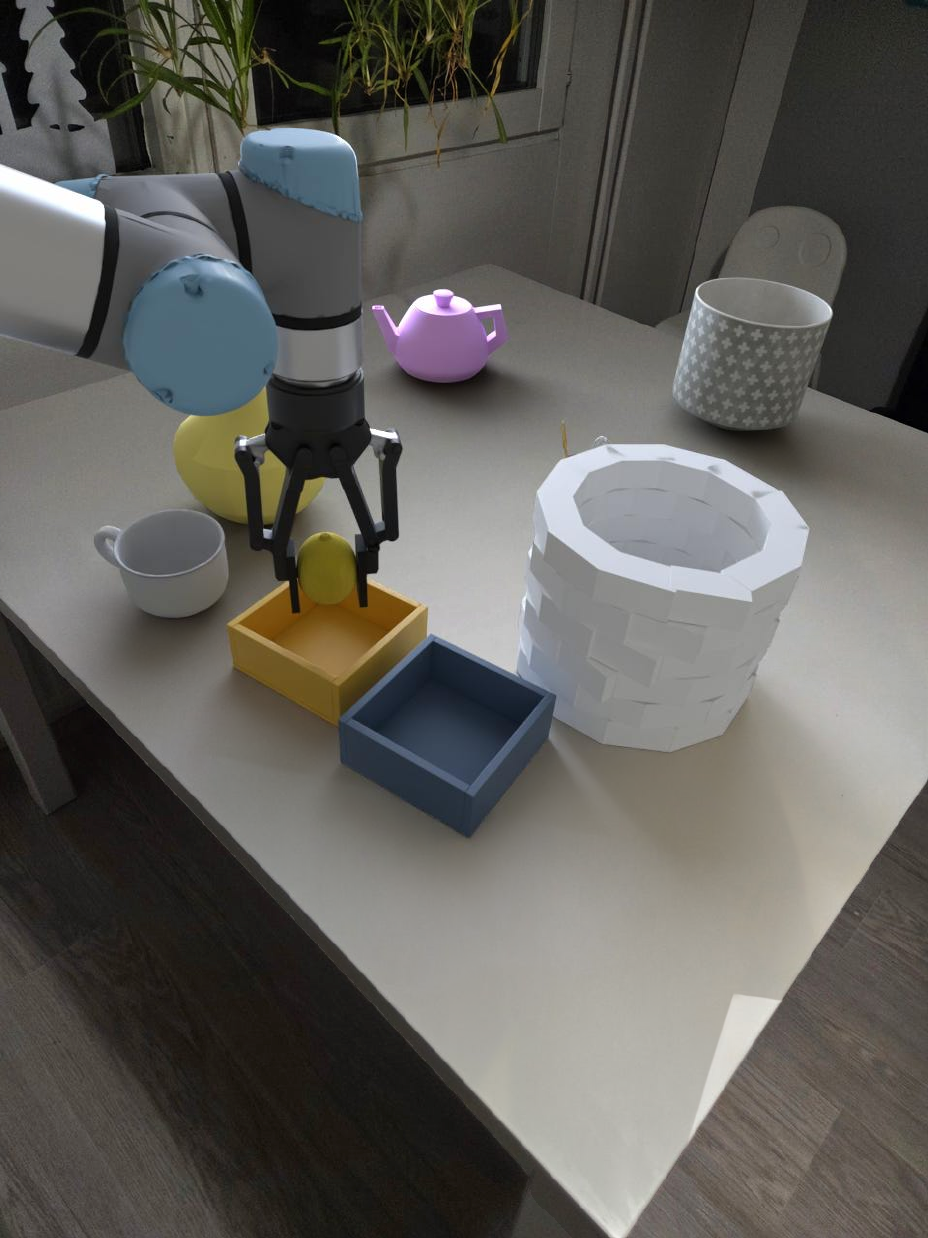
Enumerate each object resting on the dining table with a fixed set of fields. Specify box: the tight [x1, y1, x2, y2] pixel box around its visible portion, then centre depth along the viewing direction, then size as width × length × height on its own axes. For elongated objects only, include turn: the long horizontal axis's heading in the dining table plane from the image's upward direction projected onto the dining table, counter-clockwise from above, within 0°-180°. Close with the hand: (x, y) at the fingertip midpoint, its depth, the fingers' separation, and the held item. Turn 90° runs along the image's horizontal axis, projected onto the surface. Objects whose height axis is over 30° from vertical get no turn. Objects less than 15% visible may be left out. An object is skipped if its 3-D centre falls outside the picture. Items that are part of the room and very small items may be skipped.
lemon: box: [296, 531, 358, 605], centre depth 75 cm, size 6×6×8 cm
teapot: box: [372, 289, 510, 384], centre depth 132 cm, size 22×16×12 cm
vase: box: [172, 386, 327, 526], centre depth 96 cm, size 18×18×19 cm
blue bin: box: [337, 633, 556, 840], centre depth 73 cm, size 14×14×6 cm
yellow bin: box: [226, 577, 429, 728], centre depth 81 cm, size 14×14×6 cm
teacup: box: [93, 508, 230, 619], centre depth 86 cm, size 14×11×8 cm
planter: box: [671, 277, 834, 432], centre depth 122 cm, size 19×19×18 cm
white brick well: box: [516, 443, 811, 753], centre depth 78 cm, size 25×24×19 cm
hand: (329, 600), depth 78 cm, fingers closed on lemon, 5 cm apart
